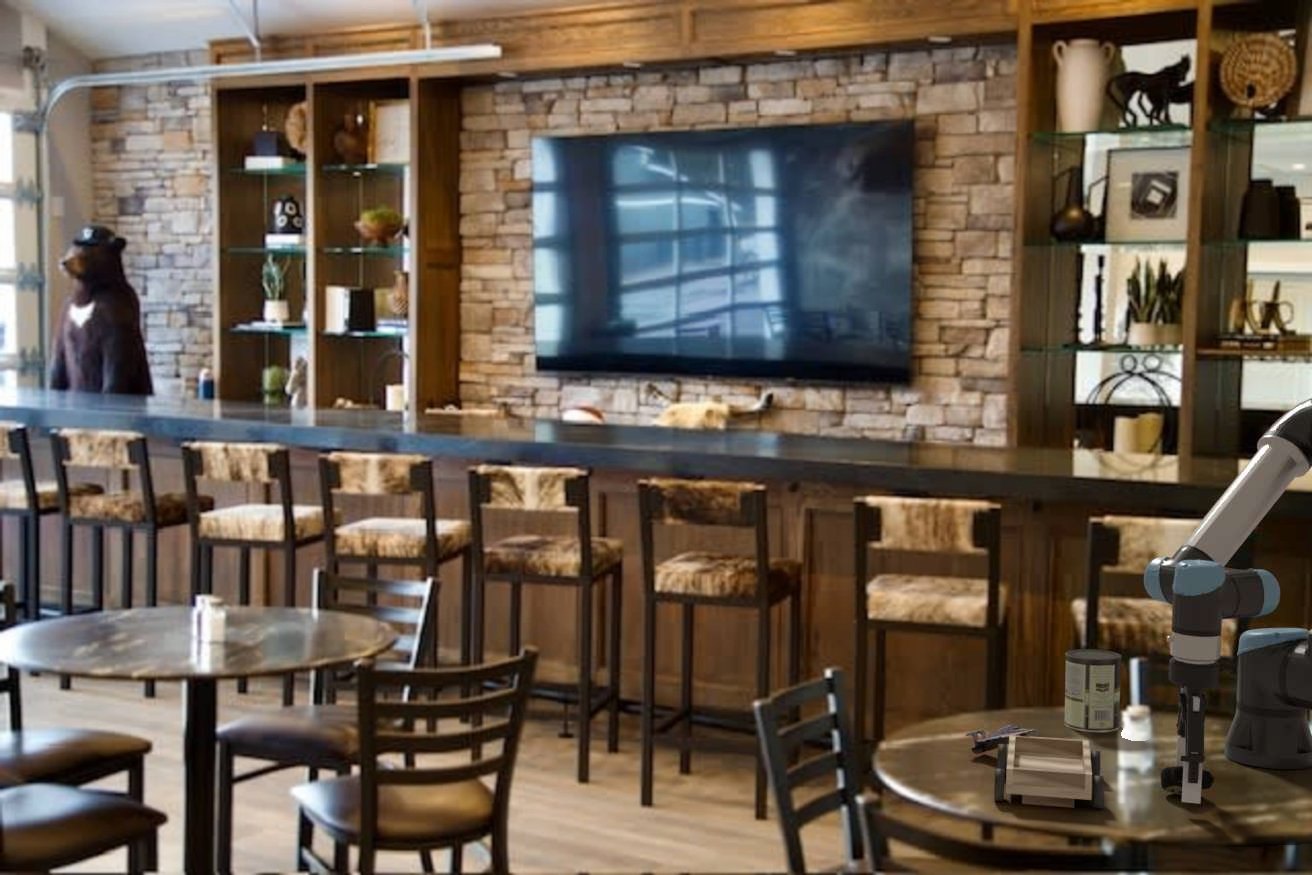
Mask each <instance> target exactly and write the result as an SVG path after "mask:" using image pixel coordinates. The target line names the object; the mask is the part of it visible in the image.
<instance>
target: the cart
mask: <svg viewBox="0 0 1312 875" xmlns="http://www.w3.org/2000/svg"><path fill="white" fill-rule="evenodd" d="M996 762H997V763H996V764H997V766H996V768H995V769H994V795H993V796H994V798H993V799H994V801H998V802H1004V797H1005V795H1006V794H1007V795H1021V797H1022V799H1021V805H1022V804H1023V805H1035V806H1048V807H1059V808H1060V807H1061V808H1073V809H1074V808H1075V800H1085V801H1086V800H1087V801H1092V808H1093V809H1100V810H1101V809H1104V794H1105V793H1104V786H1105V785H1104V782H1105V781H1104V775H1101V751H1100V750H1093V749H1090V742H1089V740H1088V739H1087V740H1086V739H1072V738H1058V737H1043V736H1032V735H1031V736H1019V735H1018V736H1016V735H1010V737H1009V744H1007V745H1006V744H998V748H997V761H996ZM1005 776H1006V778H1005ZM1005 779H1006V780H1005Z"/></svg>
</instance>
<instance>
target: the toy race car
mask: <svg viewBox="0 0 1312 875" xmlns="http://www.w3.org/2000/svg"><path fill="white" fill-rule="evenodd" d="M979 735H981V737H982V739H979ZM1010 735H1016V736H1031V737H1032V736H1035V735H1039V729H1038V728H1031V729H1028V728H1021V727H1019V726H1015V727H1014V726H1013V725H1012V724H1009V725H1005V726H1004V727H1001V728H1000V729H997V731H995V732H993V733H992V734H990V735H987V734H986V731H985V730H984V729H979V730H974V731H971V732H968V733H966V734H965V737H967V736H968V737H969V736H971V737H972V740H973V742H974V747H971V748H970V750H971V751H972V753H973V754H976V755H977V754H978V755H980V754H983V753H986V752H989V751H990V752H991V751H994V750H996V749H997V750H998V744H1006V745H1007V746H1008V745H1009V737H1010Z"/></svg>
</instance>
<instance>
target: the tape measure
mask: <svg viewBox="0 0 1312 875" xmlns="http://www.w3.org/2000/svg"><path fill="white" fill-rule="evenodd" d="M1183 768H1184V766H1176V765H1175V766H1167V767H1164V768H1163V769H1162V770H1161V771H1160V784H1161V786H1160V787H1161V788H1162V790H1163V791H1165V792H1168V793H1170V794H1172V795H1176V796H1177V795H1178V796H1182V786H1183ZM1214 778H1215V776H1212V773H1211V772H1210V771H1208V770H1204V769H1202V784H1201V791H1202V790H1209V789H1211V787H1212V785H1213V783H1214V782H1215V780H1214Z"/></svg>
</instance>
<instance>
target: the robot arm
mask: <svg viewBox="0 0 1312 875" xmlns="http://www.w3.org/2000/svg"><path fill="white" fill-rule="evenodd" d="M1256 446H1257V447H1256V448H1257V451H1256V453H1255V454H1254V455H1253V457H1252V458H1251V459H1250V460H1249V461H1248V462H1247V464H1246V465H1245V467H1244V468H1243V469H1242V470H1241V471H1240V473H1239V474H1238V475H1237V476H1236V478H1235V479H1234V480H1233V481H1232V483H1231V484H1230V485H1229V486H1228V488H1227V489H1225V491H1224V493H1223V494H1222V495H1221V496H1220V498H1219V499H1218V500H1217V501H1216V502H1215V504H1214V505H1213V506H1212V507H1211V508H1210V510H1209V511H1207V513H1206V515H1205V516H1204V517H1203V518H1202V520H1201V521H1200V522H1199V523H1198V525H1197V526H1196V527H1195V528H1194V529H1193V531H1192V532H1190V535H1188V537H1187V538H1186V539H1185V541H1184V542H1183V543H1182V544H1181V546H1180V547H1179V549H1177V551H1176V552H1175V553H1174V554H1173V556H1172V557H1170V556H1161V557H1160V556H1159V557H1157V558H1155V559H1152V560H1151V561H1150V562H1149V563H1148V564H1147V566H1146V568H1145V571H1144V575H1143V583H1144V584H1143V585H1144V589H1145V591H1146V592H1147V594H1148V596H1150V598H1153V599H1154V600H1156V601H1159V602H1162V603H1165V604H1168V605H1172V610H1171V611H1172V612H1171V633H1170V634H1171V635H1168V636H1166V642H1168V643H1170V650H1169V653H1170V655H1171V656H1172V657H1171V658H1170V659H1169V662H1168V663H1169V664H1168V666H1169V667H1168V680H1169V681H1170V682H1171V683H1172V684H1175V685H1177V686H1180V691H1179V692H1178V697H1177V699H1178V713H1177V722H1176V724H1175V725H1176V728H1177V731H1176V733H1177V736H1176V737H1177V738H1176V751H1175V752H1176V753H1175V755H1176V756H1175V766H1184V768H1183V786H1182V795H1181V803H1187V804H1188V803H1189V804H1190V803H1191V804H1197V805H1198V804H1201V800H1202V799H1201V797H1202V790H1201V784H1202V770H1203V765H1204V764H1203V763H1204V762H1205V760H1206V756H1205V721H1206V707H1207V703H1208V702H1207V697H1206V694H1205V693H1203V689H1204V688H1214V687H1216V686H1218V684H1219V679H1220V664H1219V662H1218V660H1220V659H1221V651H1222V648H1221V647H1222V624H1223V620H1231V619H1232V620H1233V619H1244V618H1257V617H1262V616H1265V615H1268V614H1271V613H1273V611H1274V610H1276V608H1277V607H1278V605H1279V603H1280V599H1281V598H1280V597H1281V588H1280V584H1279V582H1278V580H1277V579H1276V577H1275V576H1274V575H1273V574H1272V573H1271V572H1269V571H1268V570H1265V569H1259V568H1258V569H1256V568H1255V569H1254V568H1248V569H1235V568H1230V567H1225V566H1226V565H1227V564H1228V562H1229V560H1230V559H1231V558H1232V557H1233V555H1234V554H1235V553H1236V552H1237V551H1238V550H1239V548H1240V547H1241V546H1242V545H1243V544H1244V542H1245V541H1246V540H1247V538H1248V537H1249V536H1250V535H1251V533H1252V532H1253V531H1254V529H1255V528H1256V527H1258V525H1259V524H1260V522H1261V521H1262V520H1263V519H1264V517H1265V516H1266V515H1267V514H1268V512H1269V511H1270V510H1271V508H1272V507H1273V506H1274V504H1275V503H1276V502H1277V501H1278V499H1280V498H1281V496H1282V495H1283V493H1284V492H1285V491H1286V490H1287V488H1288V487H1289V486H1290V485H1291V484H1292V482H1293V481H1294V480H1295V479H1296V478H1301V477H1304V476H1305V475H1306V474H1308V472H1309V471H1310V470H1311V468H1312V397H1311V398H1309V399H1306V400H1304V401H1302V402H1301V403H1299V404H1296V405H1295V406H1294V407H1292V408H1291V409H1290V410H1289V411H1287V412H1286V413H1284V414H1283V415H1281V417H1280V418H1278V419H1277V420H1276V421H1275V422H1274V423H1273V424H1271V426H1270V427H1269V428H1268V429H1267V430H1266V431H1265V432H1264V433H1263V435H1262V436H1261V437H1260V438H1259V439H1258V441H1257V444H1256ZM1236 654H1237V655H1236V657H1237V662H1236V663H1237V668H1236V670H1237V672H1236V675H1237V676H1236V708H1235V709H1236V710H1235V715H1234V717H1233V720H1232V723H1231V725H1230V728H1229V730H1228V732H1227V735H1226V737H1225V742H1224V751H1223V752H1224V756H1225V757H1226V758H1227V759H1228V760H1231V761H1233V762H1236V763H1240V764H1243V765H1247V766H1251V767H1257V768H1263V769H1272V770H1273V769H1274V770H1275V769H1276V770H1301V769H1307V768H1311V767H1312V731H1311V729H1310V725H1309V722H1308V710H1309V711H1312V628H1311V629H1310V630H1308V629H1305V628H1299V627H1269V628H1267V627H1266V628H1255V629H1250V630H1246V631H1244V632H1242V633H1241V634H1240V637H1239V643H1238V651H1237V653H1236Z"/></svg>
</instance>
